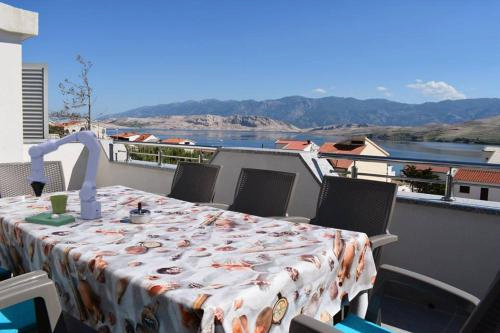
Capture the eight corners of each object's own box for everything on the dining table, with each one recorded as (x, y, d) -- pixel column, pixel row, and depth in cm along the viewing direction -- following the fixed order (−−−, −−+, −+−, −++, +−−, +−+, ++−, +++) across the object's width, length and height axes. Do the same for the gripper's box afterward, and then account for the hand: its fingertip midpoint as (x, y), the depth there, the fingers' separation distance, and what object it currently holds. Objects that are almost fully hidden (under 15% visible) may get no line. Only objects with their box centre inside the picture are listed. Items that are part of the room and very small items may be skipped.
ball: (61, 215, 192) (56, 212, 193) (56, 216, 188) (50, 213, 189) (59, 221, 192) (54, 218, 193) (54, 223, 189) (48, 220, 190)
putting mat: (75, 221, 193) (75, 217, 193) (57, 226, 183) (57, 222, 182) (43, 216, 199) (43, 213, 199) (24, 221, 189) (24, 217, 189)
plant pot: (54, 215, 204) (54, 198, 203) (46, 212, 209) (45, 196, 208) (72, 212, 211) (72, 196, 210) (63, 209, 217) (63, 194, 216)
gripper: (19, 169, 195) (20, 196, 197) (42, 171, 190) (43, 199, 192) (31, 168, 202) (32, 194, 203) (53, 170, 197) (54, 196, 199)
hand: (38, 196), depth 198 cm, fingers closed
